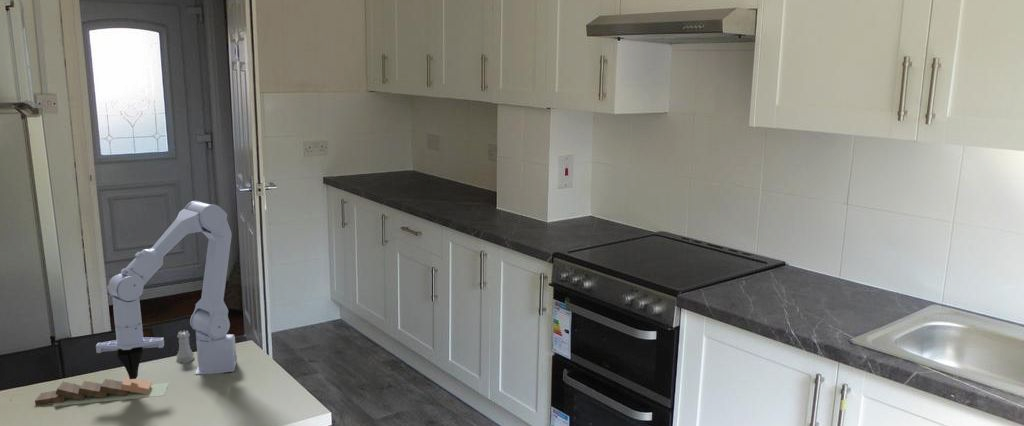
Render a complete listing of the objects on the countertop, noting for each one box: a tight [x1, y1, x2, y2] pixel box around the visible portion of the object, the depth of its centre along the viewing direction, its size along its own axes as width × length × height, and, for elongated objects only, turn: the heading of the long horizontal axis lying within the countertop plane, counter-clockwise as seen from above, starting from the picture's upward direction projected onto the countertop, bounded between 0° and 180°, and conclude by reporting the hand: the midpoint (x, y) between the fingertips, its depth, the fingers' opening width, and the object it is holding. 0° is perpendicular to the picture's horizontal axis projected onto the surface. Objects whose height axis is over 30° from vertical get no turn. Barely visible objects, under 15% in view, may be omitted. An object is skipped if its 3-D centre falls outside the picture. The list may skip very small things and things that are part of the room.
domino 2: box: [55, 381, 86, 401], centre depth 180 cm, size 1×4×6 cm
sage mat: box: [51, 382, 170, 407], centre depth 183 cm, size 24×8×1 cm, turn 105°
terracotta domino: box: [120, 376, 153, 394], centre depth 184 cm, size 1×4×6 cm
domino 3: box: [78, 380, 109, 398], centre depth 181 cm, size 1×4×6 cm
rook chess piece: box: [176, 330, 195, 363], centre depth 204 cm, size 4×4×8 cm
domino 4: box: [99, 378, 129, 396], centre depth 183 cm, size 1×4×6 cm
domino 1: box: [34, 390, 68, 406], centre depth 179 cm, size 1×4×6 cm
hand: (133, 377), depth 183 cm, fingers closed
